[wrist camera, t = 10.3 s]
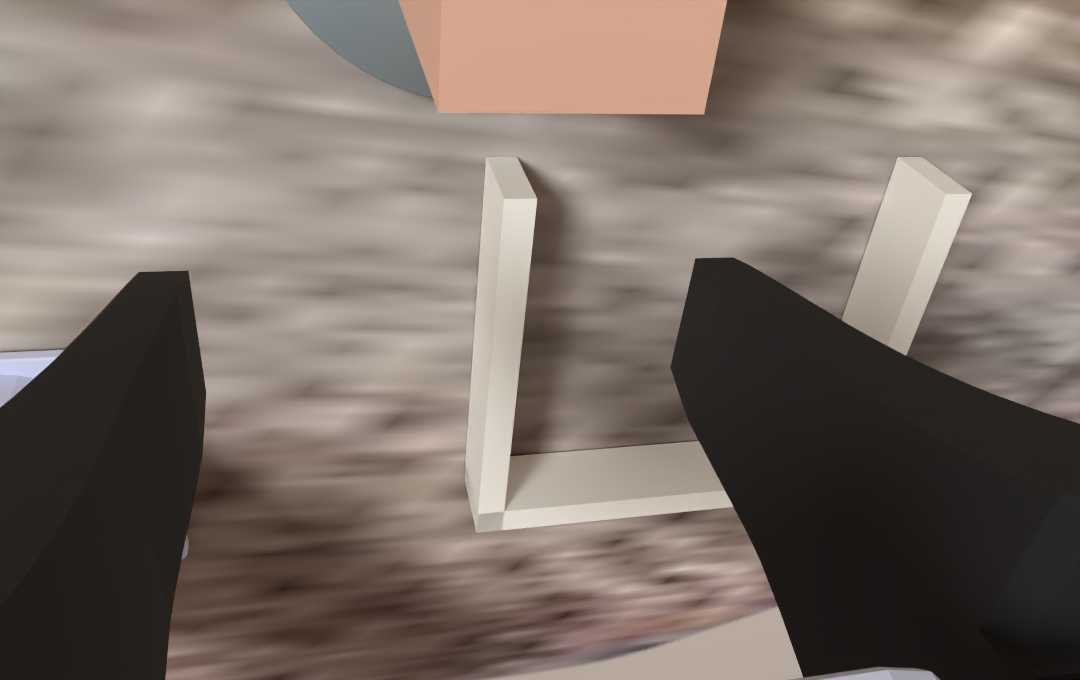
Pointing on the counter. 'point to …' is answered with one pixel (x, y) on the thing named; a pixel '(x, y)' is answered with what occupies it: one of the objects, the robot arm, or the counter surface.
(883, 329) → the shelf bay
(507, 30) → the plain salmon-coloured rectangular block
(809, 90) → the counter surface
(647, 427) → the counter surface
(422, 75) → the coaster
